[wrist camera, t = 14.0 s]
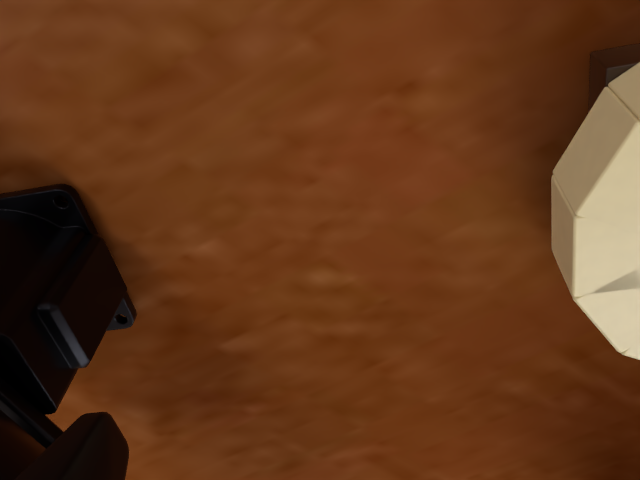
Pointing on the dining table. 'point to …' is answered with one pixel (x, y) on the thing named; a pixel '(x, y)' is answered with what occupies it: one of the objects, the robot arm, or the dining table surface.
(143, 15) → the dining table surface
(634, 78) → the tape
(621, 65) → the stand
